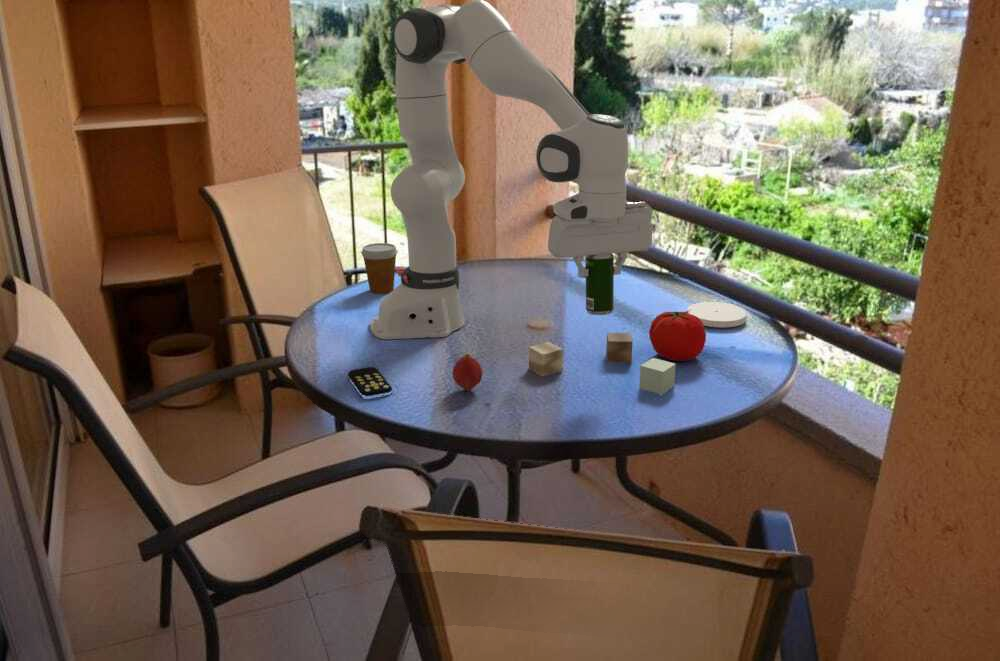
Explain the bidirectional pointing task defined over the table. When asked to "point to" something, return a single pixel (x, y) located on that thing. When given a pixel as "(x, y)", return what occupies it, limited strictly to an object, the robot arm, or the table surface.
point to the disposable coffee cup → (380, 266)
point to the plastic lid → (718, 314)
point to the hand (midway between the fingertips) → (599, 275)
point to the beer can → (600, 284)
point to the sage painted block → (657, 375)
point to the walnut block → (619, 348)
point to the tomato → (677, 335)
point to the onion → (467, 372)
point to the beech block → (545, 358)
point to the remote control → (369, 381)
